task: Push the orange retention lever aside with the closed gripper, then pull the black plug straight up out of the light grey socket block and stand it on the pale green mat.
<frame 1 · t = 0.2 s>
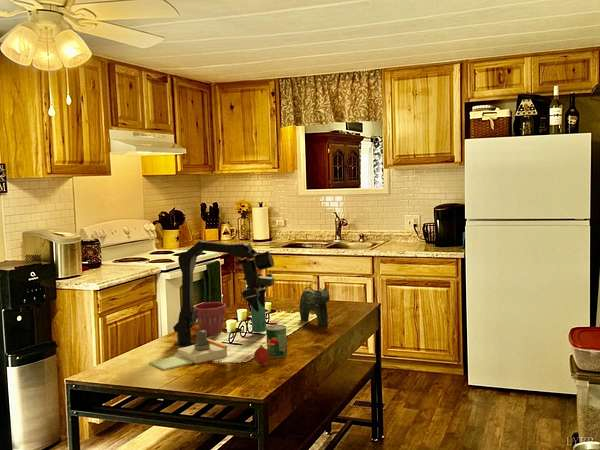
hand: (260, 309, 270), 15 cm above the kitchen island, tool pointing down, fingers open, 9 cm apart
retention lever: (212, 342, 259), point 6 cm above the kitchen island, hinge at 0.0°
onion: (262, 366, 243), on the kitchen island
plug: (202, 356, 260), resting in socket block
beverage bottle: (259, 334, 291), on the kitchen island
pale green mat: (170, 363, 251), on the kitchen island
canned tomato: (277, 355, 258), on the kitchen island
plant pot: (211, 333, 297), on the kitchen island
socket block: (202, 356, 260), on the kitchen island
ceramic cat: (313, 323, 308), on the kitchen island
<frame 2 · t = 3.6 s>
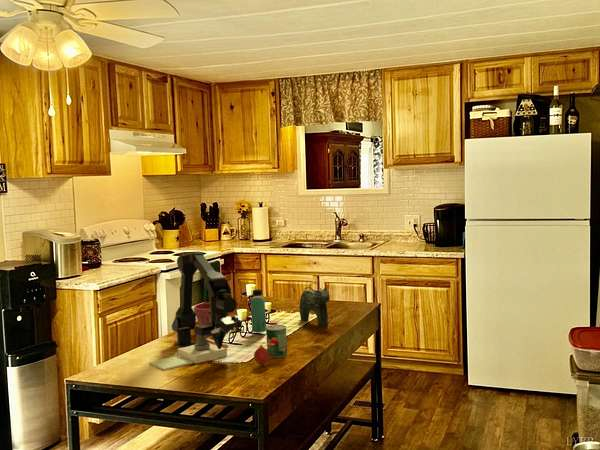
hand: (219, 348, 252), 5 cm above the kitchen island, tool pointing down, fingers closed
retention lever: (212, 342, 259), point 6 cm above the kitchen island, hinge at 1.7°, touching gripper
everything else where it was.
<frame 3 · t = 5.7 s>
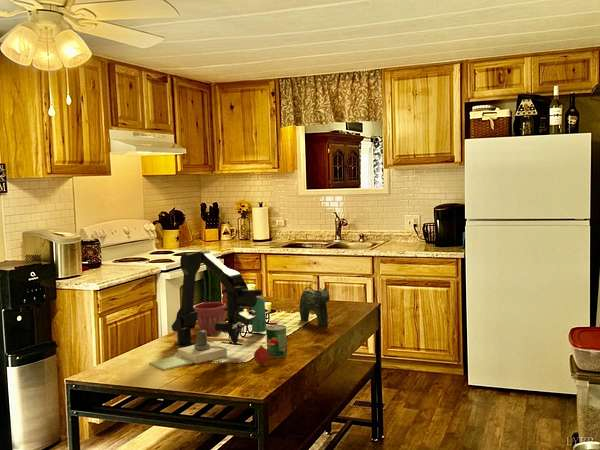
hand: (235, 343, 259), 5 cm above the kitchen island, tool pointing down, fingers closed
retention lever: (220, 339, 263), point 6 cm above the kitchen island, hinge at 32.2°, touching gripper
everything else where it was.
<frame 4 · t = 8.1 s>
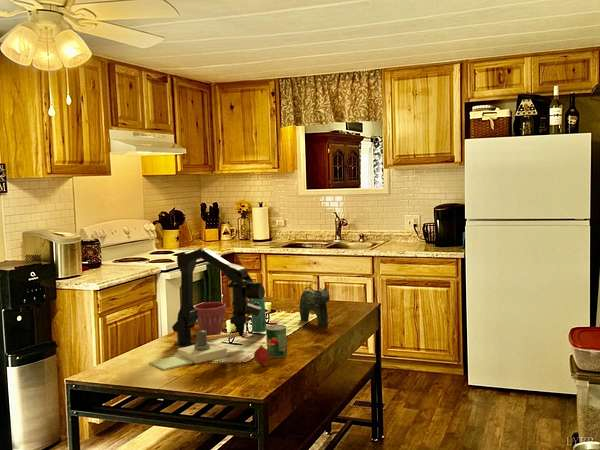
hand: (241, 336, 267), 5 cm above the kitchen island, tool pointing down, fingers closed
retention lever: (222, 336, 268), point 6 cm above the kitchen island, hinge at 64.1°
everything else where it was.
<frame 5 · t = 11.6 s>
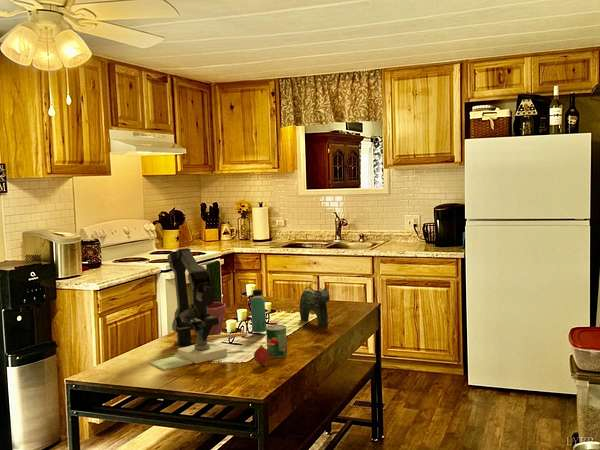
hand: (201, 339, 259), 7 cm above the kitchen island, tool pointing down, fingers closed on plug, 4 cm apart
plug: (202, 356, 259), resting in socket block, touching gripper
everything else where it was.
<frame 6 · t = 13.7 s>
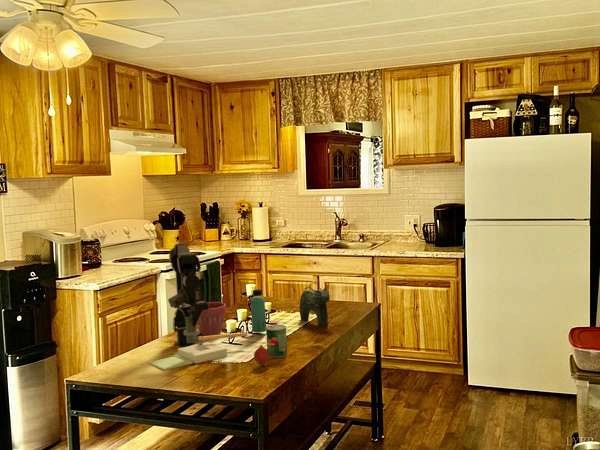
hand: (191, 325, 256), 13 cm above the kitchen island, tool pointing down, fingers closed on plug, 4 cm apart
plug: (192, 341, 256), point 7 cm above the kitchen island, touching gripper
everything else where it was.
when the fingers open (8 cm above the kitchen island, at t = 15.8 s): plug drops 1 cm, resting on pale green mat.
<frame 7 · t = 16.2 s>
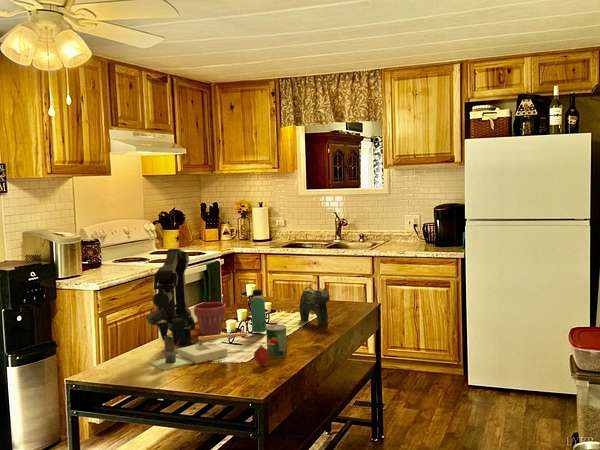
hand: (169, 342, 250), 8 cm above the kitchen island, tool pointing down, fingers open, 8 cm apart
plug: (170, 361, 251), point 1 cm above the kitchen island, touching pale green mat
everything else where it was.
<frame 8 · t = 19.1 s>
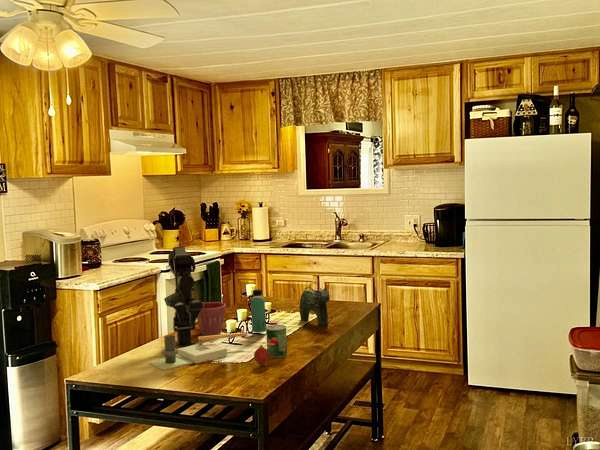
hand: (186, 323, 263), 12 cm above the kitchen island, tool pointing down, fingers open, 9 cm apart
nothing on the kitchen island moved.
at the end: retention lever at +64° (first picture: +0°); plug inside the target area on the pale green mat (0.1 cm from its centre), point 0.6 cm above the pale green mat's base; plug tilted 1° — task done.
